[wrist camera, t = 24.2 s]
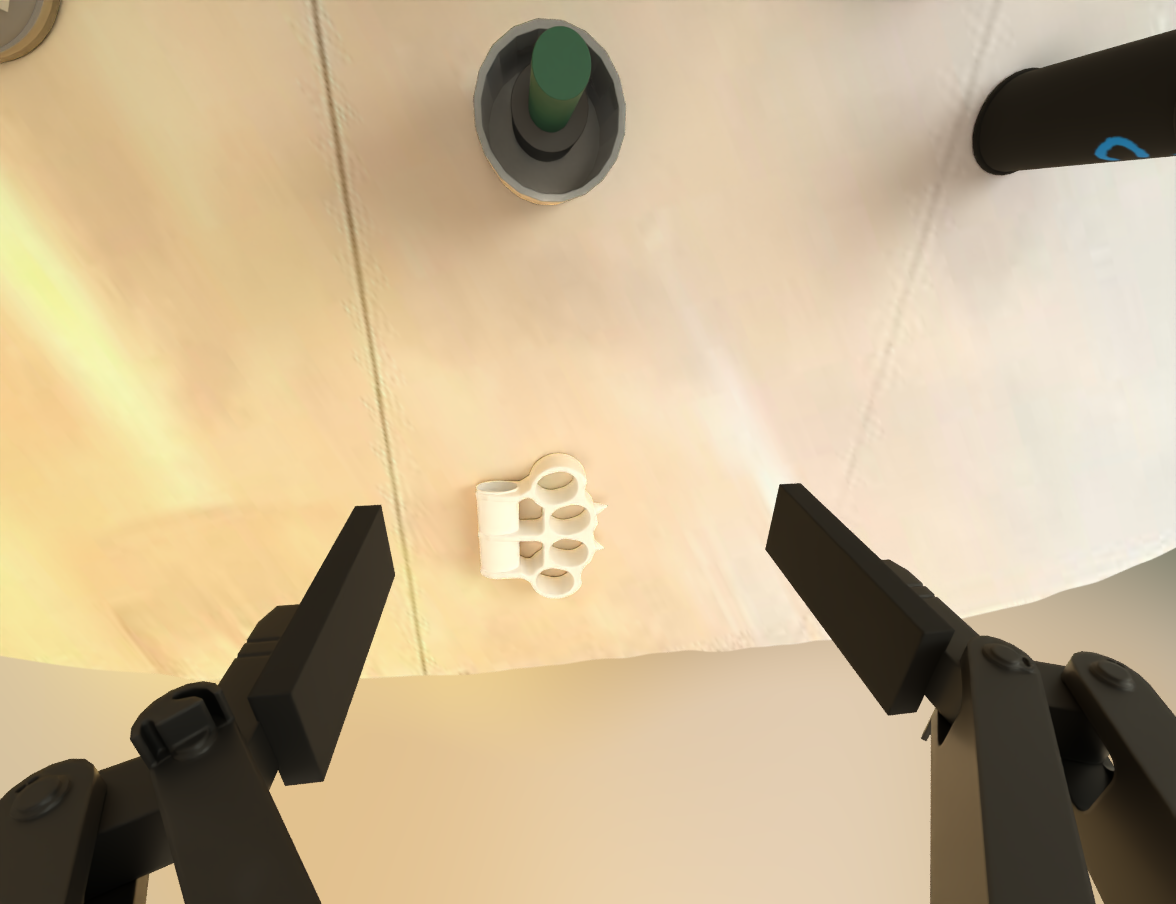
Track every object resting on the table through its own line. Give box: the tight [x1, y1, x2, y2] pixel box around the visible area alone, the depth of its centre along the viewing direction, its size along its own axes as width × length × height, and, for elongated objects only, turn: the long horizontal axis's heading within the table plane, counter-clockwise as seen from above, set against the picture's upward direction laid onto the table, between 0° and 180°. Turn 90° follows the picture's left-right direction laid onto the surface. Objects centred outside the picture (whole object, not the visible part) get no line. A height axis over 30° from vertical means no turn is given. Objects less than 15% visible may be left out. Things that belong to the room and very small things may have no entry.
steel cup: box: [473, 18, 626, 205], centre depth 36 cm, size 10×10×10 cm
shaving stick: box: [511, 26, 591, 162], centre depth 32 cm, size 17×5×5 cm
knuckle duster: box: [476, 453, 608, 599], centre depth 55 cm, size 3×18×15 cm
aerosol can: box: [973, 30, 1176, 175], centre depth 36 cm, size 8×8×20 cm
